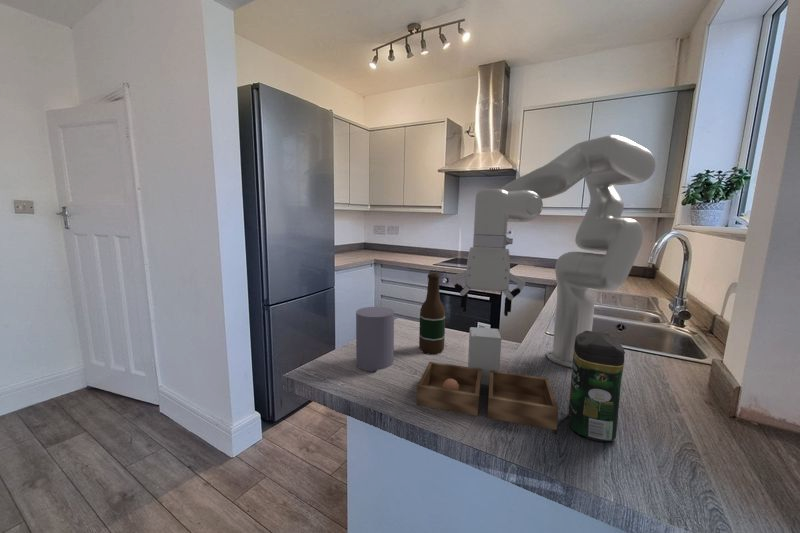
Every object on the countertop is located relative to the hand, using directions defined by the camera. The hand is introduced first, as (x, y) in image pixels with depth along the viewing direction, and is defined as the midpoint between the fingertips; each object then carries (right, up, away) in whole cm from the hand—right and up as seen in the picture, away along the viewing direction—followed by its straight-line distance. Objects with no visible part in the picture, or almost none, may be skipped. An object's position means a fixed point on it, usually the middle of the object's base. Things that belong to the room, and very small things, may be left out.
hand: (485, 312), depth 78 cm
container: (-28, -16, +11) cm, 34 cm away
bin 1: (-9, -18, -6) cm, 22 cm away
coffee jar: (+16, -20, -16) cm, 30 cm away
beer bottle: (-11, -15, +21) cm, 28 cm away
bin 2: (+4, -19, -10) cm, 22 cm away
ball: (-9, -18, -6) cm, 21 cm away
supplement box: (0, -18, +3) cm, 18 cm away
